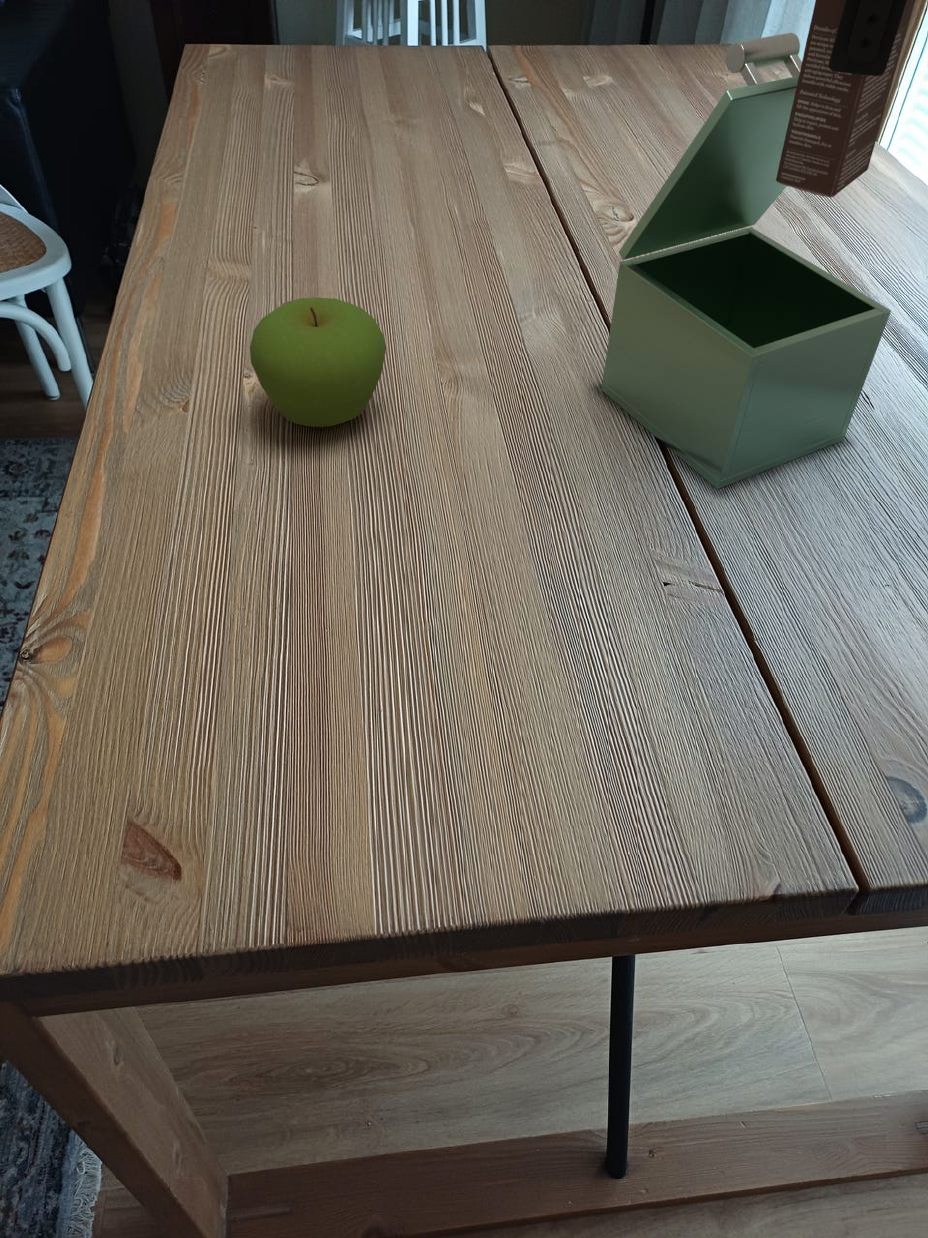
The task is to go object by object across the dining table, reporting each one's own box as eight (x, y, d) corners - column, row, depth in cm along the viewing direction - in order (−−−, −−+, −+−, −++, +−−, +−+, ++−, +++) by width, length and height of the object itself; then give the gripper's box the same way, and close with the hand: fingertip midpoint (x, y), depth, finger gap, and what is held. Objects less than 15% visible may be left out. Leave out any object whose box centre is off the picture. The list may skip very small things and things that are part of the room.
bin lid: (886, 68, 66) (848, 4, 67) (731, 100, 61) (692, 30, 62) (754, 224, 81) (724, 171, 82) (622, 260, 77) (592, 202, 77)
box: (806, 155, 68) (861, -49, 59) (868, 173, 66) (933, -36, 57) (767, 182, 65) (819, -31, 56) (830, 201, 63) (895, -16, 54)
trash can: (843, 440, 81) (891, 310, 73) (716, 489, 76) (752, 356, 68) (721, 351, 90) (751, 226, 82) (601, 390, 85) (619, 261, 77)
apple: (298, 470, 77) (284, 359, 70) (237, 407, 82) (218, 297, 75) (413, 425, 81) (411, 315, 74) (347, 367, 87) (339, 261, 80)
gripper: (1082, -349, 41) (926, 108, 54) (1029, -360, 52) (911, 17, 65) (896, -356, 42) (787, 92, 55) (884, -365, 53) (796, 6, 66)
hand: (855, 49), depth 60 cm, fingers closed on box, 7 cm apart
